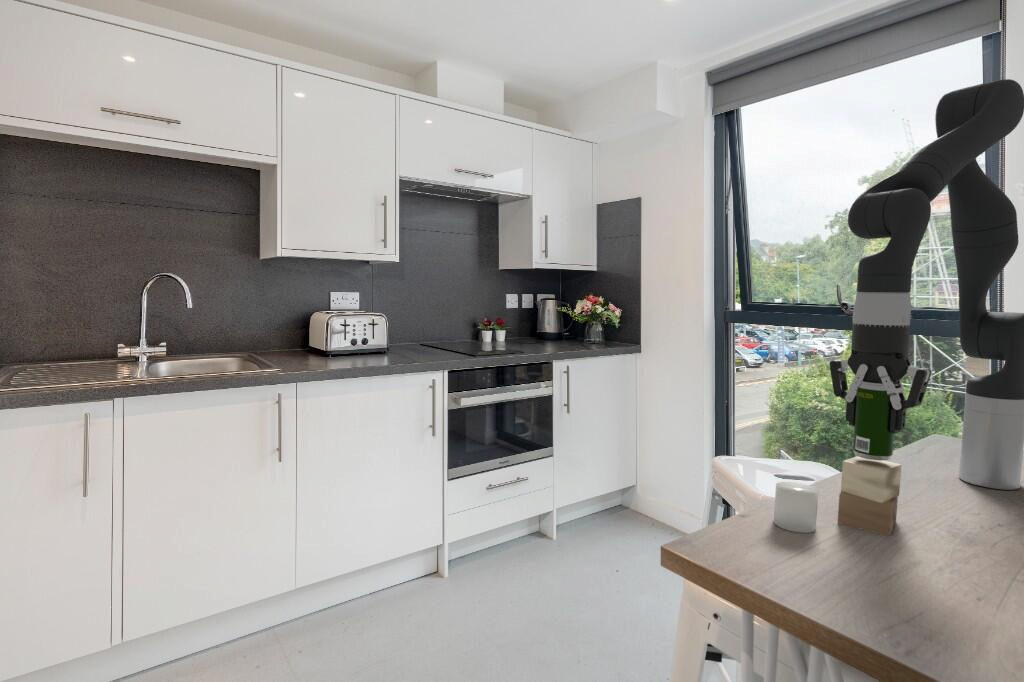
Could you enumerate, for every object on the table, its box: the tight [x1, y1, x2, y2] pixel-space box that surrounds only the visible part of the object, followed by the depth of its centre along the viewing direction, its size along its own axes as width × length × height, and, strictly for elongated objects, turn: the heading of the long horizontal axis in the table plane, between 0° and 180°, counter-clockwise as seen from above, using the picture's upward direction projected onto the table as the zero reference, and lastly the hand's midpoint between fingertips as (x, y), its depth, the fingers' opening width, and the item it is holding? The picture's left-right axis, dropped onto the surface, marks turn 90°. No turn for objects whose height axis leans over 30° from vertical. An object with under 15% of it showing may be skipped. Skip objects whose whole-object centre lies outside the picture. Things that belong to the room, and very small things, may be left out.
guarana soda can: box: [852, 381, 896, 461], centre depth 90 cm, size 5×5×12 cm
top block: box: [840, 456, 902, 503], centre depth 91 cm, size 6×6×5 cm
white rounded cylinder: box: [773, 481, 820, 534], centre depth 90 cm, size 6×6×6 cm
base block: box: [837, 490, 899, 537], centre depth 91 cm, size 7×7×5 cm
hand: (873, 428), depth 90 cm, fingers closed on guarana soda can, 5 cm apart
